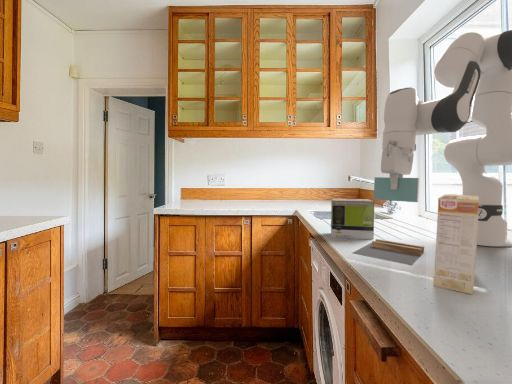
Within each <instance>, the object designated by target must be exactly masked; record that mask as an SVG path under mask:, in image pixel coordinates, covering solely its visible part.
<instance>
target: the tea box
mask: <svg viewBox="0 0 512 384" xmlns="http://www.w3.org/2000/svg"><path fill="white" fill-rule="evenodd" d="M330 205H331V206H330V207H331V210H330V211H331V212H330V233H331V238H332V239H333V238H343V239H345V238H347V239H362V240H374V239H375V238H374V236H375V235H374V233H375V232H374V231H375V201H374V200H372V199H370V198H369V199H367V198H364V199H363V198H331V204H330Z"/></svg>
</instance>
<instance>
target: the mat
mask: <svg viewBox="0 0 512 384" xmlns="http://www.w3.org/2000/svg"><path fill="white" fill-rule="evenodd" d="M352 254H353V255H358V256H359V255H360V256H363V257H369V258H374V259H378V260H379V259H380V260H384V261H389V262H393V263H399V264H404V265H408V266H413V265H414V264H415V263H416V262H417V261H418V259H419V258H421V256H420V255H414V254H409V253H403V252H398V251H392V250H386V249H381V248H375V247H372V242H370V243H368V244H366V245H364V246H362V247H361V248H359V249H357V250H355V251H353V252H352ZM423 254H424V253H422V255H423Z"/></svg>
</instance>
